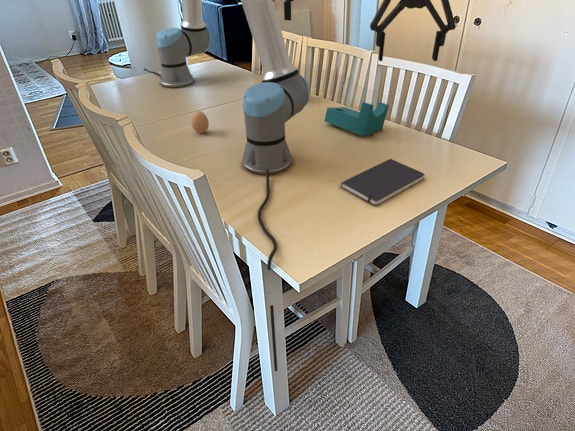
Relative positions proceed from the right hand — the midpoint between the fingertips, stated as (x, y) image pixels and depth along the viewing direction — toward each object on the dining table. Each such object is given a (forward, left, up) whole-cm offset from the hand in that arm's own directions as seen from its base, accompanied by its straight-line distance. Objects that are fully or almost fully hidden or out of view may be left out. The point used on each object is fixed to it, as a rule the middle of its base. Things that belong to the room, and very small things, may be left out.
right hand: (407, 59), depth 104 cm
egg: (+39, +56, -31) cm, 76 cm away
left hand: (+67, +22, -2) cm, 70 cm away
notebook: (-8, +6, -31) cm, 33 cm away
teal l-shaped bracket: (+31, +1, -31) cm, 44 cm away
